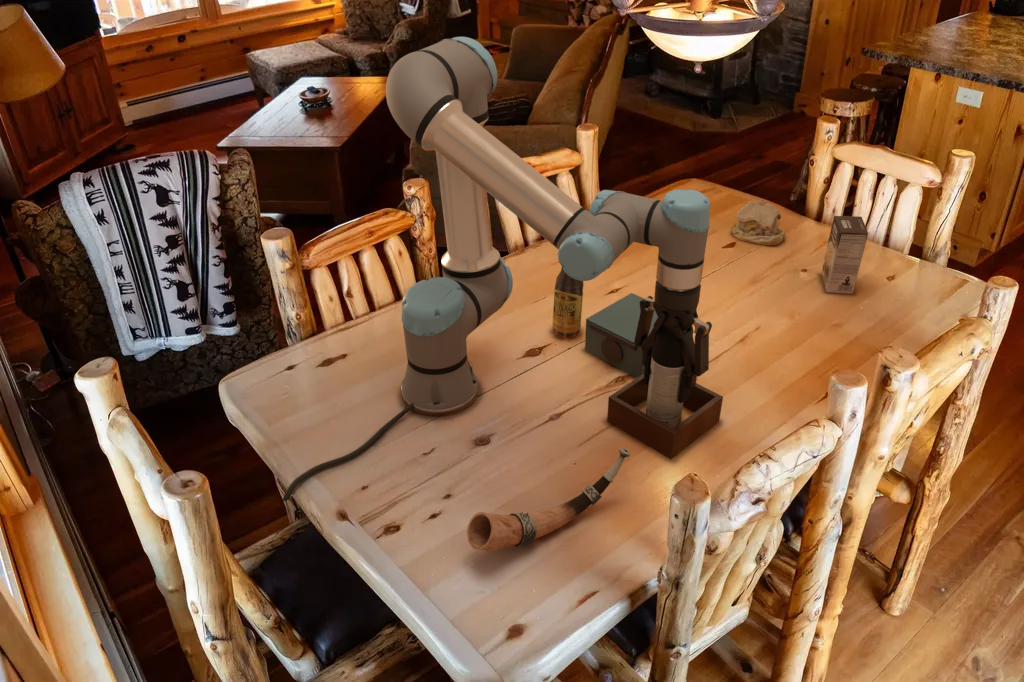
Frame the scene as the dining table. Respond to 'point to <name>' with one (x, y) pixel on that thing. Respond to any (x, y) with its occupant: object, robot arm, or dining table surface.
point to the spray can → (665, 379)
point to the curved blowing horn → (535, 517)
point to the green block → (617, 334)
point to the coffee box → (844, 254)
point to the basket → (655, 431)
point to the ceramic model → (759, 224)
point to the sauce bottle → (567, 306)
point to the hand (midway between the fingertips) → (666, 389)
